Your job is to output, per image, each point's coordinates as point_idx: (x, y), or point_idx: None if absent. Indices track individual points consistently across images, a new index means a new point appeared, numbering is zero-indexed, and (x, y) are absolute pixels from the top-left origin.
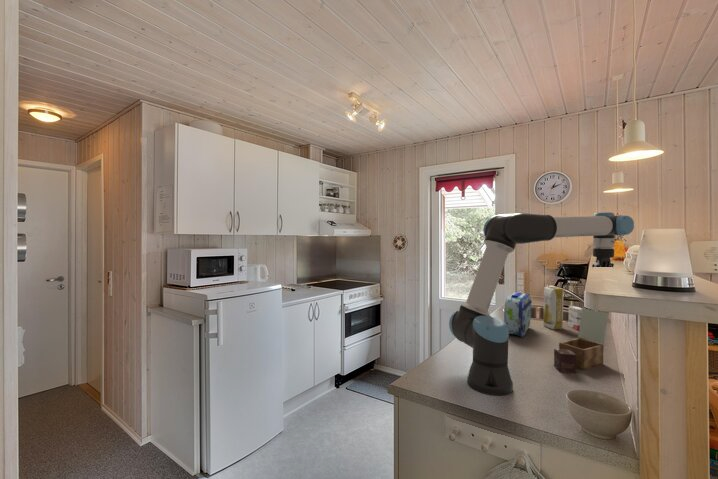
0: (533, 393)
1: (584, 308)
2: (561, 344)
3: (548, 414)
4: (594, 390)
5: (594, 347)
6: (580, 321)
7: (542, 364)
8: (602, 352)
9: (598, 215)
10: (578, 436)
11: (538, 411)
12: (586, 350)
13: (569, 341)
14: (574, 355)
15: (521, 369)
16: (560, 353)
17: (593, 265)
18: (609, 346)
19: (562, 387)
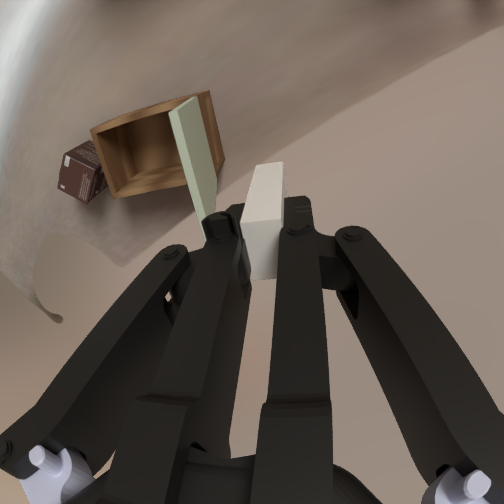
0: (16, 225)
1: (173, 126)
2: (93, 135)
3: (19, 266)
4: (95, 246)
5: (160, 189)
6: (182, 103)
7: (72, 126)
8: None
9: None
10: (31, 297)
11: (12, 258)
12: (123, 196)
13: (130, 121)
14: (84, 201)
15: (26, 145)
16: (58, 188)
17: (5, 454)
18: (408, 70)
19: (55, 223)
